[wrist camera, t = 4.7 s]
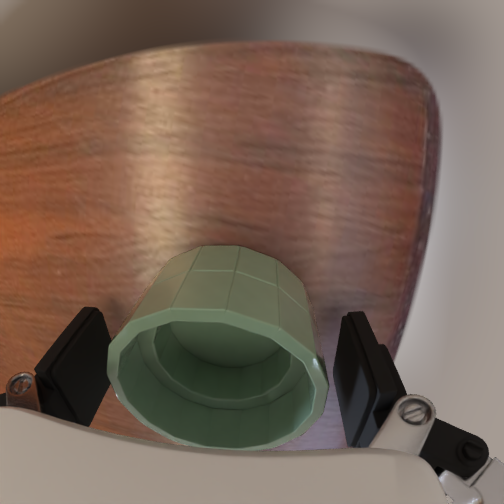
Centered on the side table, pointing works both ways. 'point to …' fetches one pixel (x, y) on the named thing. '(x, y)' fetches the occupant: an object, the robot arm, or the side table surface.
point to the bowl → (222, 352)
